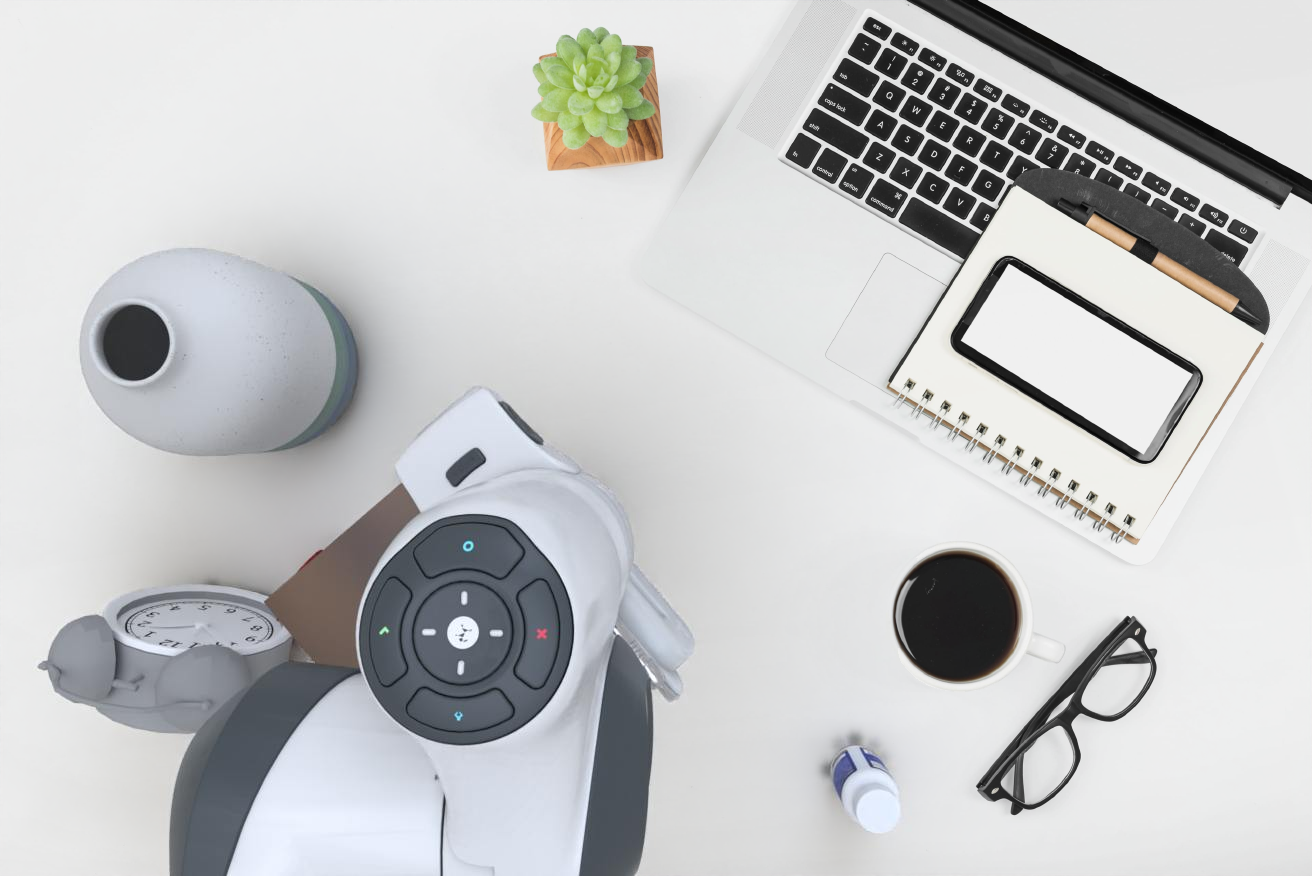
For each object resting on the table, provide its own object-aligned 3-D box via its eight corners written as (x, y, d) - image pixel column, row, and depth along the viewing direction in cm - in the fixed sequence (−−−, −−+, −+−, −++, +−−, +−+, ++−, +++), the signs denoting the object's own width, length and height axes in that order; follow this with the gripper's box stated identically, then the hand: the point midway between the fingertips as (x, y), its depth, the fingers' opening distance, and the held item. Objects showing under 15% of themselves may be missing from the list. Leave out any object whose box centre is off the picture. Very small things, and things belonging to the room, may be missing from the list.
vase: (375, 283, 82) (249, 224, 58) (372, 452, 83) (246, 463, 59) (208, 280, 83) (15, 221, 59) (206, 449, 83) (13, 458, 59)
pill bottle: (837, 802, 82) (856, 848, 73) (823, 751, 82) (840, 791, 73) (889, 789, 82) (915, 833, 73) (875, 737, 82) (899, 775, 73)
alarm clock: (336, 607, 83) (211, 672, 61) (317, 690, 83) (186, 785, 61) (179, 568, 83) (-1, 619, 61) (160, 651, 84) (-25, 731, 62)
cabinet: (530, 634, 82) (420, 788, 47) (440, 527, 83) (262, 602, 48) (619, 559, 82) (573, 658, 47) (527, 452, 82) (414, 471, 47)
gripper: (726, 671, 42) (715, 609, 55) (464, 361, 42) (518, 376, 56) (631, 750, 42) (643, 668, 56) (370, 442, 42) (447, 437, 56)
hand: (579, 520), depth 56 cm, fingers closed
